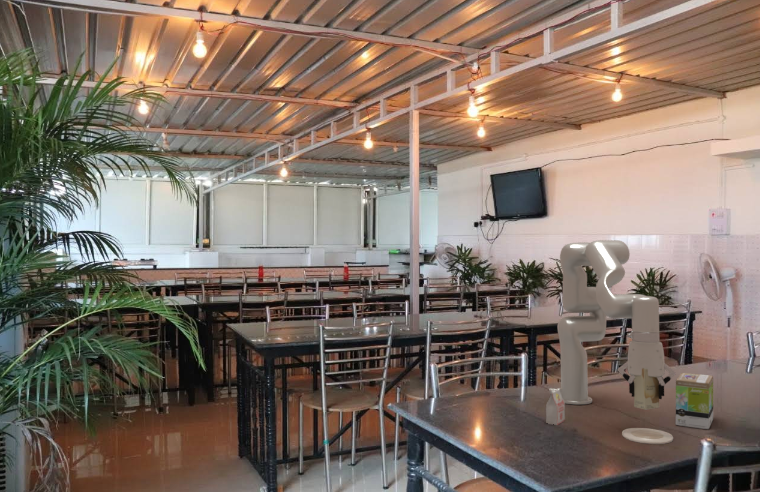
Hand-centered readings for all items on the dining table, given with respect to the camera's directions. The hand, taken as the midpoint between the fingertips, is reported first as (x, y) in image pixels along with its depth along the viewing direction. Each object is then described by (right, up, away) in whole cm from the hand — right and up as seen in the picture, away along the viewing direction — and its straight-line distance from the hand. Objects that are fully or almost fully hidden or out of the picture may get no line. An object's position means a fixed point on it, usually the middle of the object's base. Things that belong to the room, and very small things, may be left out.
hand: (646, 396), depth 187 cm
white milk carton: (-22, -13, +18) cm, 31 cm away
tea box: (+22, -12, +16) cm, 30 cm away
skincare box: (0, -3, 0) cm, 3 cm away
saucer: (0, -12, 0) cm, 12 cm away
